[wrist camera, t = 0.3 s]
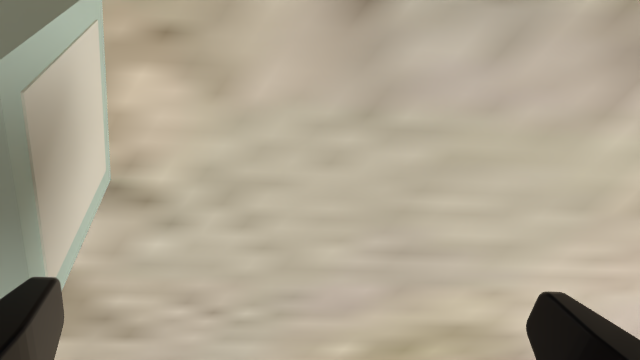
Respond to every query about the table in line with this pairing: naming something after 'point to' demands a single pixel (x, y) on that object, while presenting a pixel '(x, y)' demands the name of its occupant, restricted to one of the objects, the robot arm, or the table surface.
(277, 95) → the table surface
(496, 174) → the table surface
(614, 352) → the robot arm
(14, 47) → the tile
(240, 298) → the table surface
